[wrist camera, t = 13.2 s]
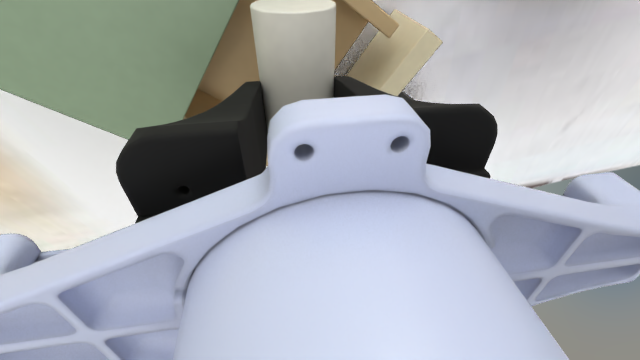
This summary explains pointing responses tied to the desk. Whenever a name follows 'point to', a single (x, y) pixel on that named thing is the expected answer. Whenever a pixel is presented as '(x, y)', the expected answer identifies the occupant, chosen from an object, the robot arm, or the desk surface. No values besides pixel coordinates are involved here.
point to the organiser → (110, 57)
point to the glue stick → (294, 50)
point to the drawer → (351, 17)
